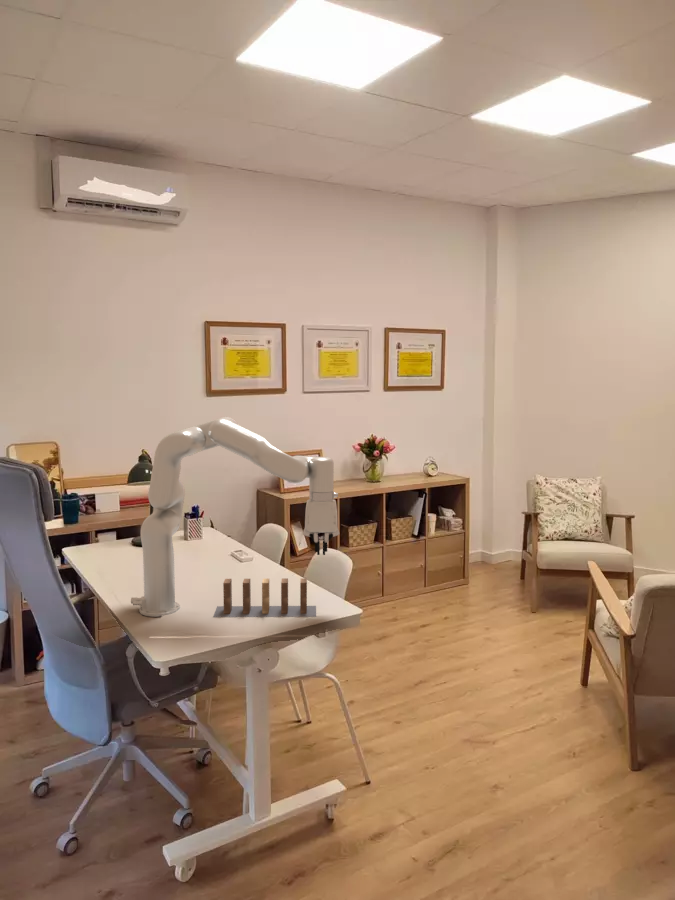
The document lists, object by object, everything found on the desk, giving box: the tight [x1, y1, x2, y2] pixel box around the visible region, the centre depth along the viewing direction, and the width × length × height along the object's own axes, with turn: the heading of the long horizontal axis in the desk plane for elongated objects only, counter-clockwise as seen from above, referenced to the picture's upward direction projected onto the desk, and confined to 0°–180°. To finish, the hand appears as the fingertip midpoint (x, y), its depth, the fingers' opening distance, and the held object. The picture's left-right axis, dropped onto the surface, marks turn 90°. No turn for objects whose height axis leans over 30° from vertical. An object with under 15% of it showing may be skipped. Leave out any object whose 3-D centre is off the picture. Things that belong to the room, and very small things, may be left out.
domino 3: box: [261, 578, 270, 614], centre depth 219 cm, size 2×5×10 cm, turn 2°
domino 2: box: [242, 578, 252, 614], centre depth 218 cm, size 2×5×10 cm, turn 2°
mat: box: [212, 605, 317, 618], centre depth 219 cm, size 32×10×1 cm, turn 92°
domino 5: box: [299, 578, 308, 614], centre depth 219 cm, size 2×5×10 cm, turn 2°
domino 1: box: [222, 578, 233, 614], centre depth 218 cm, size 2×5×10 cm, turn 2°
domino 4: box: [280, 578, 289, 614], centre depth 219 cm, size 2×5×10 cm, turn 2°
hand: (321, 553), depth 218 cm, fingers closed
